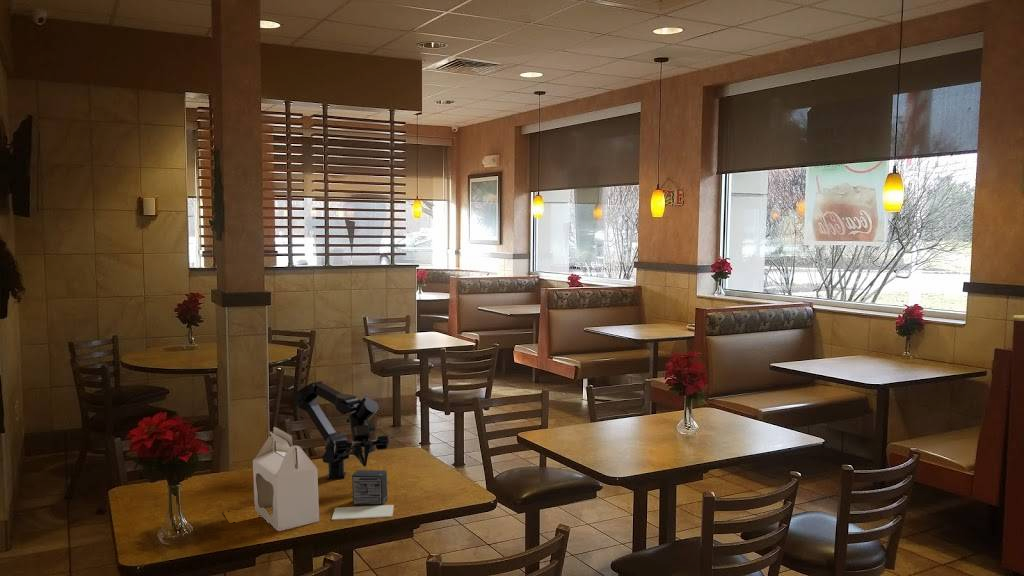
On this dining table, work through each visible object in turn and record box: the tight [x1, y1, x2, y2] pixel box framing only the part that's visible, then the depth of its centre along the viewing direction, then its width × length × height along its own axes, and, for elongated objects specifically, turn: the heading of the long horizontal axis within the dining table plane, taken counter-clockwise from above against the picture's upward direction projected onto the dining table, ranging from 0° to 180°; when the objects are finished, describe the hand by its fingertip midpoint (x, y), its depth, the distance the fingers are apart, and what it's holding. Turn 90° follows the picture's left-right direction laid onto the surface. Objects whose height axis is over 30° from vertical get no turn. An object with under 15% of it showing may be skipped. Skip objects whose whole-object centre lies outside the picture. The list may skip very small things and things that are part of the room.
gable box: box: [252, 426, 320, 532], centre depth 243 cm, size 22×13×28 cm, turn 37°
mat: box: [331, 504, 395, 521], centre depth 246 cm, size 10×19×1 cm, turn 96°
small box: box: [351, 469, 389, 506], centre depth 255 cm, size 11×6×10 cm, turn 84°
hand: (365, 466), depth 264 cm, fingers closed
